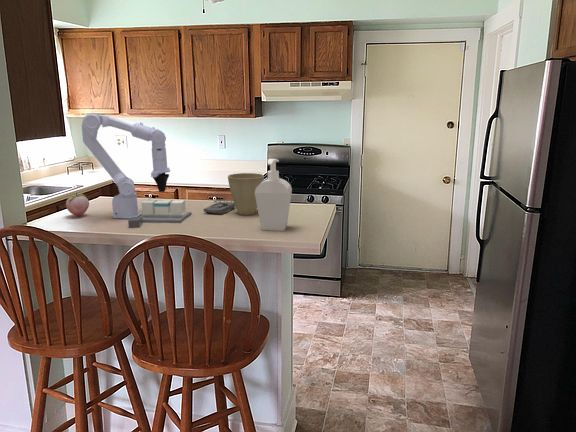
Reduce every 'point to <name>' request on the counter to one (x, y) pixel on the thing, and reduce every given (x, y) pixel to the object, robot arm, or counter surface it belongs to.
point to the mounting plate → (175, 217)
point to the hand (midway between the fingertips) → (162, 191)
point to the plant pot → (244, 191)
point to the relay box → (135, 222)
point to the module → (162, 207)
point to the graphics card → (220, 207)
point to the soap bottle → (273, 200)
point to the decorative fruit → (77, 204)
